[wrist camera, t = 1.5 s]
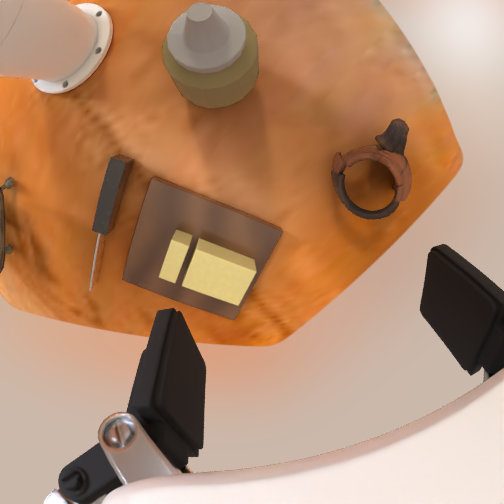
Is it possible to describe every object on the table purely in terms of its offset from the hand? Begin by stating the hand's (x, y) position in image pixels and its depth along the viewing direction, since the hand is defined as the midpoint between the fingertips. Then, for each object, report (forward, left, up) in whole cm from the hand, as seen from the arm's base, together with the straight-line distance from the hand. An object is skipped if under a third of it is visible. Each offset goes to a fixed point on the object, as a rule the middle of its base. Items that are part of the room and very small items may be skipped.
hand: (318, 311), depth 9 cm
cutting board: (-3, -11, -23) cm, 26 cm away
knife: (-15, -12, -23) cm, 30 cm away
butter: (0, -11, -22) cm, 25 cm away
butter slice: (-5, -11, -22) cm, 25 cm away
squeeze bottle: (-9, +9, -23) cm, 27 cm away
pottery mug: (+11, +8, -23) cm, 27 cm away
